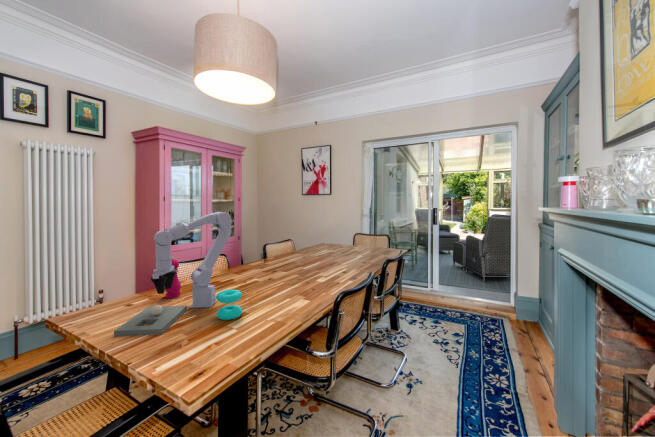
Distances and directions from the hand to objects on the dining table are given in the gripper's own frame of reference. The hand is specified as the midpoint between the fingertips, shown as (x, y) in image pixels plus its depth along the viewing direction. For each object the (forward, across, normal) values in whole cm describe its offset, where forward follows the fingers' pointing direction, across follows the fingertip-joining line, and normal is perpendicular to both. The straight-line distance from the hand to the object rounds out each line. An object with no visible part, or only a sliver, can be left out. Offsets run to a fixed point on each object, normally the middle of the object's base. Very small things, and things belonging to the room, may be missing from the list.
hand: (164, 291), depth 117 cm
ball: (+5, +7, 0) cm, 9 cm away
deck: (+9, +9, 0) cm, 13 cm away
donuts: (+10, +6, +28) cm, 30 cm away
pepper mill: (+10, -21, -6) cm, 24 cm away
